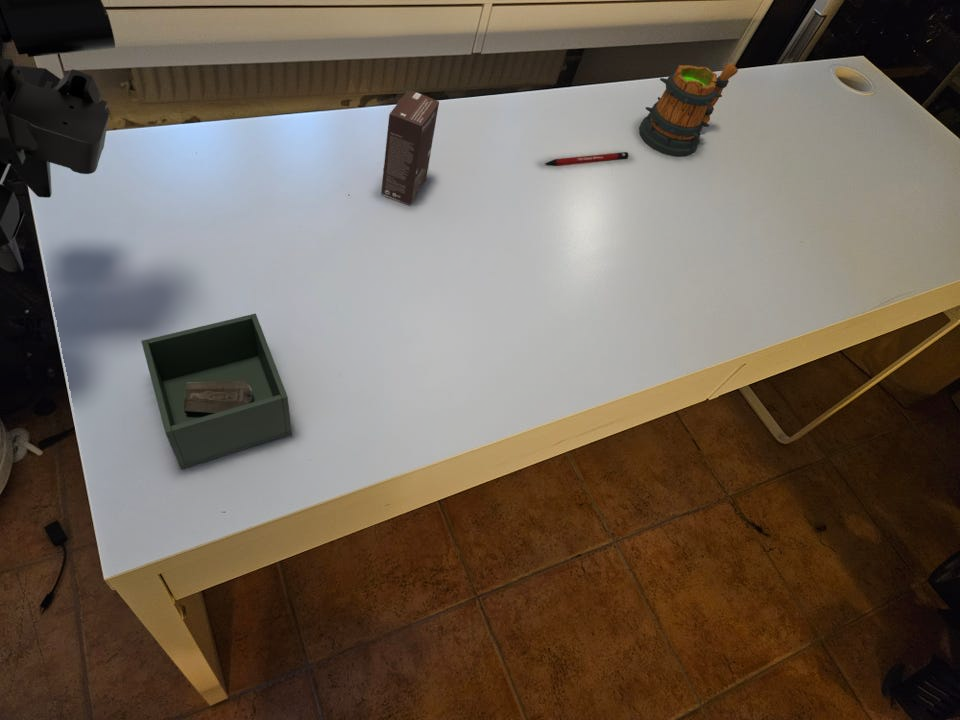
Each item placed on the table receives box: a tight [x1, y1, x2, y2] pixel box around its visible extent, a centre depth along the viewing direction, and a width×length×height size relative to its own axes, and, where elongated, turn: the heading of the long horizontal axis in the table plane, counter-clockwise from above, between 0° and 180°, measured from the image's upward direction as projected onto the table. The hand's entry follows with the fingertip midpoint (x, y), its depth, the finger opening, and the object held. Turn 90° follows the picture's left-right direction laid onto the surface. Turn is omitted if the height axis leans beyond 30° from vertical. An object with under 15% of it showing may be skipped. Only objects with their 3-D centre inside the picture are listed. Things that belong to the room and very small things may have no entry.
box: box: [380, 89, 440, 206], centre depth 81 cm, size 6×4×12 cm
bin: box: [140, 313, 293, 470], centre depth 60 cm, size 10×10×7 cm
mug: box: [638, 62, 739, 158], centre depth 100 cm, size 13×10×12 cm
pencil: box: [544, 151, 629, 167], centre depth 96 cm, size 1×14×1 cm, turn 110°
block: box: [184, 381, 254, 415], centre depth 62 cm, size 4×6×2 cm, turn 99°
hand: (31, 231), depth 57 cm, fingers open, 9 cm apart
